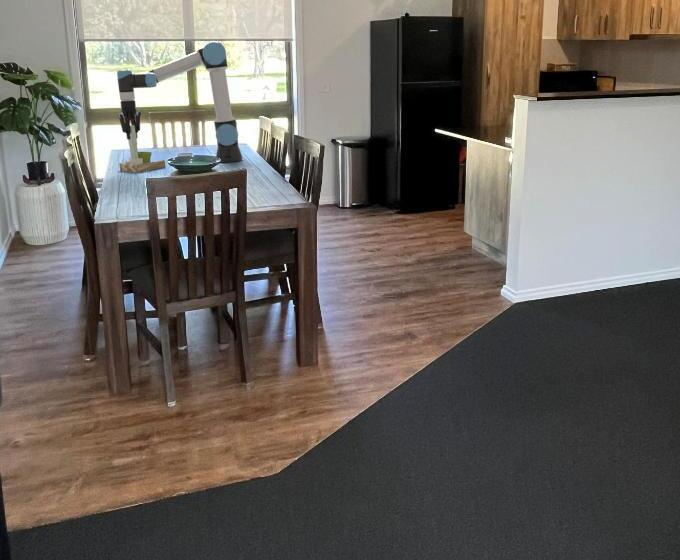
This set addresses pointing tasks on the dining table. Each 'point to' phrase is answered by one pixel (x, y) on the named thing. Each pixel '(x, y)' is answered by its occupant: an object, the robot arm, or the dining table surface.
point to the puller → (134, 149)
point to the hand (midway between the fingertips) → (133, 145)
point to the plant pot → (145, 156)
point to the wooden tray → (142, 166)
